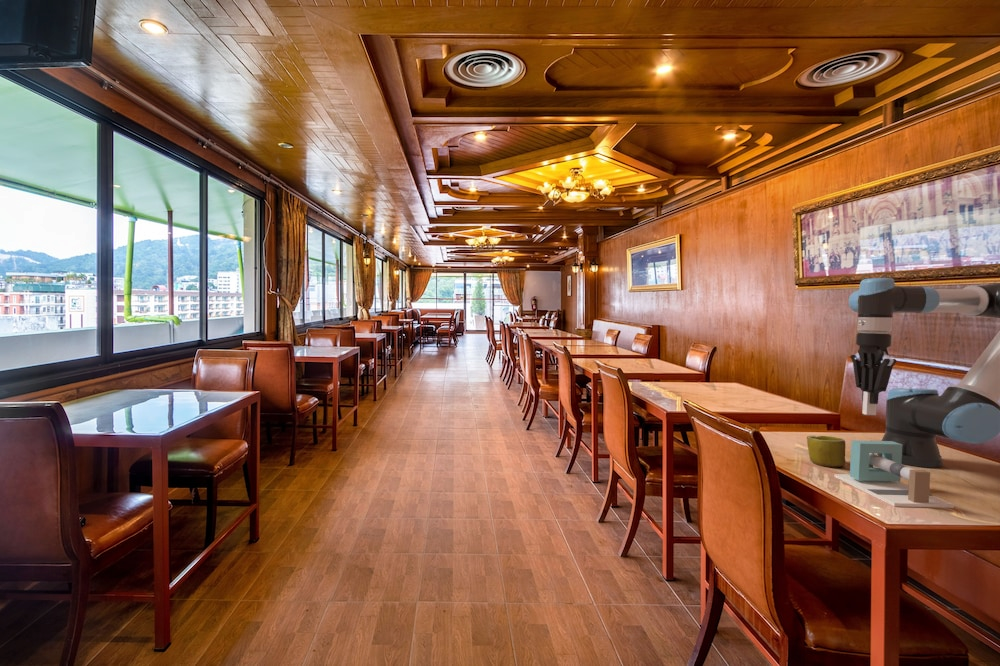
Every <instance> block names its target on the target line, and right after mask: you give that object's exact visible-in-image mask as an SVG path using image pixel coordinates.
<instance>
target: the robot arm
mask: <svg viewBox="0 0 1000 666" xmlns="http://www.w3.org/2000/svg"><path fill="white" fill-rule="evenodd" d="M858 288H859V289H858V290H856V291H853V292H852V293H851V294H850V295H849V297H848V306H849V308H850V309H851V310H852V311H853V312H855V313H857V324H856V325H857V328H856V330H857V331H858V333H856V340H855V344H856V345H857V346H859V348H858V349H857V353H855V354H850V359H851V362H852V366H853V374H854V380H855V387H856V388H857V389H858V388H859V389H860V390H861V391H862V392H861V393H862V394H861V401H862V410H861V411H862V415H864V416H876V415H877V405H878V403H879V396H880V395H879V394H880V393H881V392H887V397H886V399H885V400H886V405H885V406H886V407H885V409H886V410H885V432H884V434H883V436H882V439H881V441H893V442H896V443H899V444H902V461H901V465H906V466H913V467H921V468H940V467H942V466H943V457H942V455H941V453H940V449H939V446H938V443H937V439H936V436H939V437H942V438H947V439H951V440H952V441H955V442H961V443H966V444H967V443H968V444H974V445H975V444H976V445H977V444H984V443H986V442H990V441H992V440H994V439H995V438H996V437H997V436H998V435H999V434H1000V402H999V400H1000V330H999V331H998V332H997V333H996V335H995V336H994V337H993V339H992V340H991V341H990V342H989V344H988V345H987V347H986V348H985V349H984V350H983V352H982V353H981V354H980V355H979V357H978V358H977V359H976V361H975V362H974V364H973V365H972V366H971V367H970V368H969V370H968V371H967V373H966V374H965V375H964V376H963V378H962V379H960V382H959V383H958V384H956V385H949V386H947V387H946V389H945V390H944V391H943V392H942V394H941V395H940V393H939V391H938V390H937V389H934V388H933V389H932V388H904V387H903V388H902V387H901V388H900V387H898V388H894V387H893V388H891V389H889V390H888V391H887V388H888V385H889V381H890V378H891V374H892V371H893V368H894V366H895V365H896V363H897V359H896V358H892V357H890V356H889V351H888V348H889V347H891V345H892V335H891V332H893V331H892V330H893V317H894V316H893V314H898V313H899V314H914V313H915V314H961V315H963V316H967V317H983V318H994V319H1000V282H998V283H990V284H982V285H968V286H965V287H963V288H934V287H932V286H923V285H920V286H916V285H915V286H913V285H912V286H910V285H909V286H908V285H907V286H906V285H905V286H904V285H903V286H899V285H896V284H895V279H893V277H892V278H891V277H890V278H889V277H873V278H865V279H863V280H861V281H860V283H859V287H858ZM876 455H878V456H880V457H882V453H876Z"/></svg>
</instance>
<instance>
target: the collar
mask: <svg viewBox="0 0 1000 666" xmlns="http://www.w3.org/2000/svg"><path fill="white" fill-rule="evenodd" d="M869 453H874V454H877V453H882V457H883V458H886V459H888V460H891V461H893V462H896V463H899V464H901V465H902V463H901V461H902V444H899V443H896V442H893V441H882V440H856V439H853V440H851V445H850V463H849V465H850V466H849V474H850V477H852V478H854V479H857V480H860V481H900V482H901V478H902V477H900V476H897V475H895V474H892V473H890V472H887V471H885V470H883V469H880V468H878V467H873V468H869Z"/></svg>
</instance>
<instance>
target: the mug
mask: <svg viewBox="0 0 1000 666" xmlns="http://www.w3.org/2000/svg"><path fill="white" fill-rule="evenodd" d="M806 441H807V448H808V455H809V461H810V462H812V463H813V464H815V465H818V466H820V467H830V468H831V467H832V468H836V467H837V468H839V467H844V466H845V465H846V440H845V439H844V438H841V437H836V436H831V435H830V436H829V435H818V436H816V435H814V434H811V435H810V434H809V435H807V436H806Z"/></svg>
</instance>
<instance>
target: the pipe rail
mask: <svg viewBox="0 0 1000 666" xmlns="http://www.w3.org/2000/svg"><path fill="white" fill-rule="evenodd" d="M869 468H880V469H883V470H885V471H887V472H890V473H892V474H895V475H897V476H900V477H901V478H903V479H904V480H907V481H908V484H907V483H905V482H902V481H901V480H900V481H860V480H857V479H854V478H852V477H850V473H849V474H847V473H839V474H838V473H834V474H833V475H834V476H833V477H834V478H836V479H837V480H839V481H842V482H844V483H846V484H848V485H850V486H852V487H854V488H856V489H858V490H860V491H861V492H862V491H863V492H864V493H866V494H869V495H871V496H872V497H874V498H876V499H879V500H881V501H883V502H885V503H886V504H889V505H890V506H893V507H897V508H898V507H902V508H903V507H904V508H943V509H948V508H949V509H954V508H955V504H954V503H951V502H949V501H947V500H944V499H942V498H940V497H938V496H935V495H933V494H930V485H931V471H927V470H925V469H914V468H912V467H908V465H905V464H902V463H901V464H899V463H896V462H893V461H891V460H888V459H886V458H883V457H880V456H878V455H877V454H876V453H869Z"/></svg>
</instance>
